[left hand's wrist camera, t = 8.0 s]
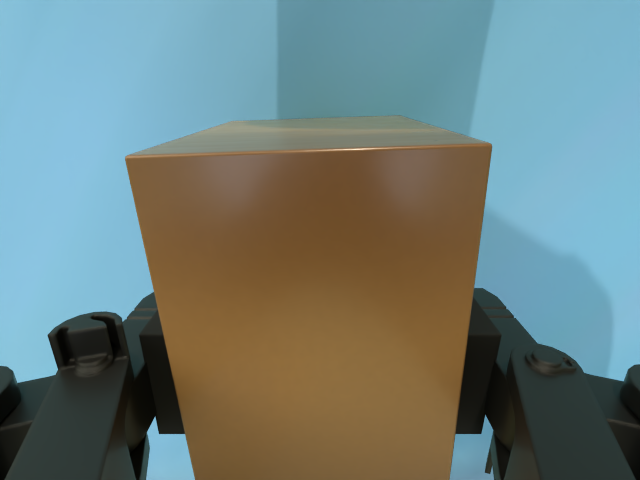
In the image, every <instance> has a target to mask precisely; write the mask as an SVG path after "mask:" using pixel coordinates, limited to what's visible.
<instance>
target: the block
mask: <svg viewBox="0 0 640 480" xmlns="http://www.w3.org/2000/svg"><path fill="white" fill-rule="evenodd" d="M491 152H492V144H490V143H488V142H484V141H481V140H478V139H475V138H471V137H468V136H465V135H462V134H458V133H455V132H452V131H449V130H445V129H442V128H439V127H436V126H432V125H429V124H426V123H423V122H419V121H416V120H413V119H410V118H406V117H403V116H400V115H393V116H364V117H336V118H307V119H279V120H250V121H231V122H228V123H224V124H221V125H218V126H215V127H212V128H209V129H206V130H203V131H200V132H197V133H194V134H191V135H188V136H185V137H182V138H179V139H176V140H173V141H170V142H166V143H163V144H160V145H157V146H154V147H151V148H148V149H145V150H142V151H139V152H136V153H133V154H130V155H127V156H126V157H125V161H126V165H127V170H128V174H129V179H130V184H131V188H132V193H133V197H134V202H135V207H136V211H137V216H138V220H139V225H140V229H141V234H142V239H143V243H144V248H145V252H146V257H147V261H148V266H149V271H150V275H151V280H152V284H153V289H154V294H155V298H156V303H157V307H158V312H159V316H160V321H161V326H162V330H163V335H164V339H165V344H166V348H167V353H168V358H169V362H170V367H171V371H172V376H173V380H174V385H175V390H176V394H177V399H178V403H179V408H180V413H181V417H182V422H183V426H184V431H185V435H186V440H187V445H188V449H189V454H190V458H191V463H192V467H193V472H194V477H195V480H449V479H450V471H451V463H452V456H453V448H454V440H455V432H456V424H457V417H458V409H459V401H460V393H461V385H462V378H463V370H464V362H465V354H466V346H467V339H468V331H469V323H470V315H471V307H472V300H473V292H474V284H475V276H476V268H477V261H478V253H479V245H480V237H481V230H482V222H483V214H484V206H485V198H486V191H487V183H488V175H489V167H490V159H491Z"/></svg>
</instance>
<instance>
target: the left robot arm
mask: <svg viewBox="0 0 640 480" xmlns="http://www.w3.org/2000/svg"><path fill="white" fill-rule="evenodd" d="M48 338H49V341H50V345H51V348H52V351H53V354H54V358H55V361H56V364H57V367H58V371H57V373H56V375H54V376H50V377H45V378H40V379H35V380H30V381H25V382H20V383H17V381H16V378H15V375H14V373H13V371H12V370H11V369H9V368H8V367H5V366H0V480H146V475H147V467H148V458H149V450H150V446H149V440H148V435H147V431H148V429H149V427H150V425H151V423H152V421H153V419H154V417H155V416H156V421H157V426H158V431H159V434H185V431H184V426H183V422H182V417H181V413H180V408H179V403H178V399H177V394H176V390H175V385H174V380H173V376H172V371H171V367H170V362H169V358H168V353H167V348H166V344H165V339H164V335H163V330H162V326H161V321H160V316H159V312H158V307H157V303H156V298H155V294H154V292H153V293H151V294H150V295H148V296H146V297H145V298H143V299H142V300H141V302H140V303H139V304H138V305H137V306H136V307H135V310H134V311H132V312H131V313H130V314H129V316H128V317H127V319H125V320H124V321H123V322H122V318H121V317H120V316H119V315H117V314H116V313H111V312H92V313H88V314H83V315H79V316H77V317H74V318H72V319H69V320H67V321H65V322H63V323H61V324H60V325H58V326H57V327H55V328H54V329H53V330H52V331H51V332H50V333H49V334H48ZM485 414H486V416H487V418H488V420H489V422H490V424H491V426H492V428H493V430H494V431H493V435H492V440H491V444H490V449H489V453H488V458H487V462H486V468H485V473H489V474H490V472H491V468H492V466H493V474H494V480H640V364H639V365H634V366H632V367H631V368H629V369H628V371H627V374H626V377H625V380H624V382H623V381H618V380H614V379H609V378H604V377H599V376H594V375H589V374H586V373H584V372H583V370H582V368H581V367H580V366H579V365H578V363H577V362H576V361H575V360H574V359H572V358H571V357H570V356H568V355H567V354H565V353H563V352H561V351H559V350H557V349H555V348H552V347H549V346H545V345H541V344H537V342H536V341H535V340H534V339H533V338H532V337H531V335H530V334H529V333H528V332H527V331H526V330H525V329H524V327H523V326H522V325H521V324H520V323H519V322H518V320H517V319H516V318H514V316H513V315H512V313H511V312H510V311H509V310H508V309H506V307H505V305H504V304H503V303H502V302H501V301H500V300H499V298H498V297H496V296H495V295H493V294H491V293H490V292H488V291H486V290H485V289H483V288H474V292H473V300H472V307H471V315H470V323H469V331H468V339H467V346H466V354H465V362H464V370H463V378H462V385H461V393H460V401H459V409H458V417H457V424H456V432H455V434H481V433H482V428H483V423H484V418H485Z"/></svg>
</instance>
